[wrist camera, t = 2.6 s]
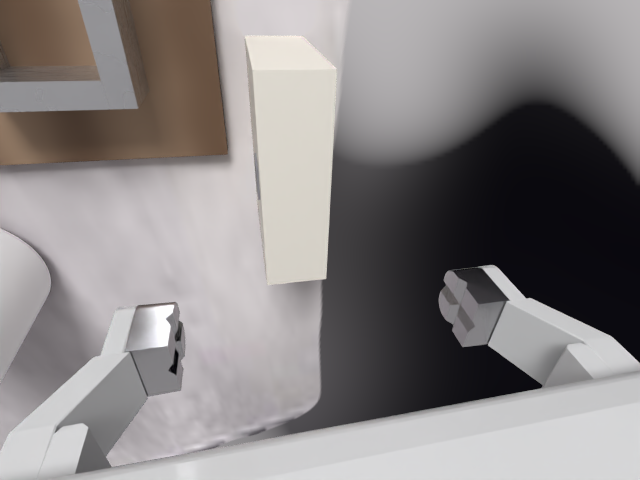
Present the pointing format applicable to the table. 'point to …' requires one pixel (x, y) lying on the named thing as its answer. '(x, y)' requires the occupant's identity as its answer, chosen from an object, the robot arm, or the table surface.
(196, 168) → the table surface
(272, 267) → the door panel
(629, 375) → the robot arm
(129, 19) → the bottom track
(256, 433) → the table surface
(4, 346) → the beverage can
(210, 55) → the track board
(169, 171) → the table surface
